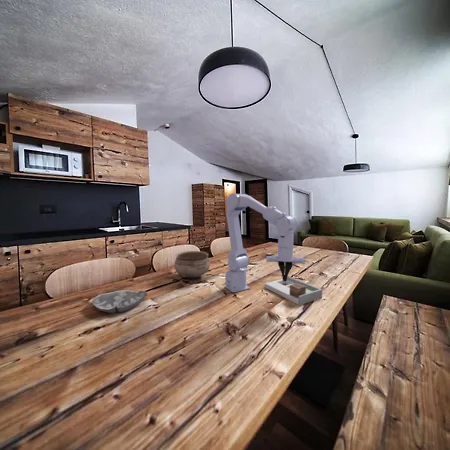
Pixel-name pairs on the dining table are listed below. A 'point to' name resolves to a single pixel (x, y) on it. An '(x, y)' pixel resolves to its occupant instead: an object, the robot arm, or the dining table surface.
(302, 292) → the walnut block
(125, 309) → the brain slice
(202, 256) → the cooking pot
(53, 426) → the dining table surface
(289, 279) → the board
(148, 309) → the dining table surface
